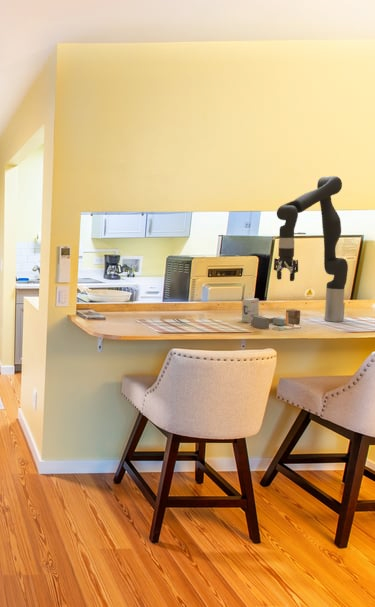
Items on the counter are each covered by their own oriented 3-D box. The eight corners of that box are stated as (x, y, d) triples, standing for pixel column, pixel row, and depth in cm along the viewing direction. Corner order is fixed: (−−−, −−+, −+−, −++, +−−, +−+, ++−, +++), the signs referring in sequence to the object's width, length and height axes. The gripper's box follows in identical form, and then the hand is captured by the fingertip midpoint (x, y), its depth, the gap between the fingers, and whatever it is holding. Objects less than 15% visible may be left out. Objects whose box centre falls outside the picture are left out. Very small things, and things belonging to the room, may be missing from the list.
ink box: (249, 323, 294) (250, 300, 292) (241, 321, 297) (242, 299, 295) (258, 321, 300) (259, 298, 299) (250, 320, 303) (251, 297, 302)
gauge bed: (275, 322, 298) (276, 312, 298) (301, 327, 284) (302, 317, 283) (248, 325, 288) (249, 315, 287) (274, 331, 273) (274, 320, 272)
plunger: (278, 322, 294) (279, 309, 293) (298, 327, 284) (298, 313, 283) (272, 323, 292) (273, 309, 291) (292, 328, 281) (293, 313, 280)
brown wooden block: (292, 322, 299) (293, 309, 298) (299, 324, 295) (300, 310, 294) (285, 323, 296) (286, 309, 295) (292, 324, 292) (293, 311, 291)
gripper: (302, 247, 279) (301, 281, 282) (281, 246, 290) (280, 278, 293) (291, 248, 275) (290, 282, 277) (270, 246, 286) (269, 279, 289)
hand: (285, 280), depth 285 cm, fingers open, 8 cm apart
